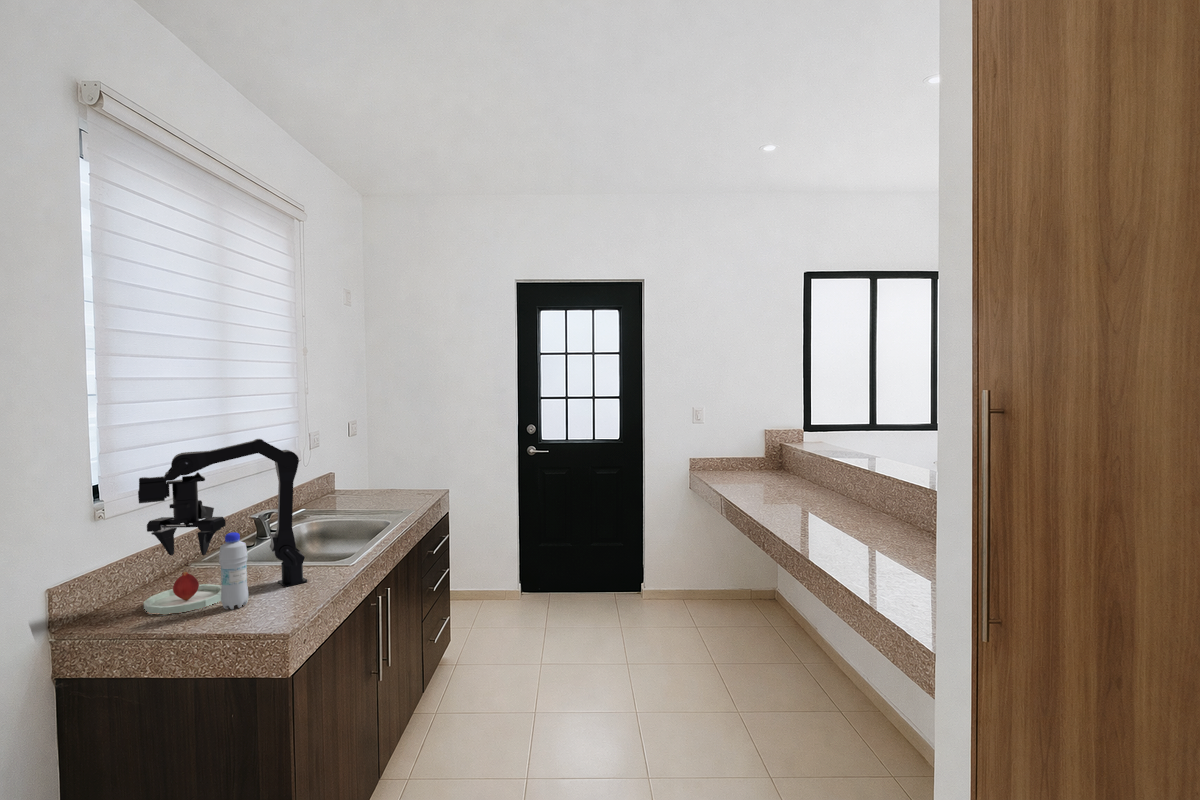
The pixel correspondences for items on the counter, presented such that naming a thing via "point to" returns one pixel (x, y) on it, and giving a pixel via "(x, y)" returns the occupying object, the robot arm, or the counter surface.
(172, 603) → the plate
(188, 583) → the onion
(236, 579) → the bottle
